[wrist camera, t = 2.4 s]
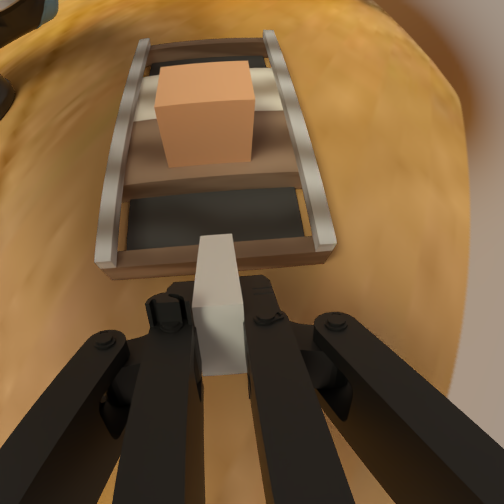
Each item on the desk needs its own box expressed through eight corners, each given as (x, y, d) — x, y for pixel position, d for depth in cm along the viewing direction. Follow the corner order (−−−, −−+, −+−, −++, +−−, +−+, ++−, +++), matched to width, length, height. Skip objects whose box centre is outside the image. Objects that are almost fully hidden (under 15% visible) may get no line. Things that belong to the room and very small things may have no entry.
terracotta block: (171, 125, 33) (160, 67, 25) (244, 120, 33) (247, 60, 26) (168, 167, 30) (154, 107, 23) (250, 161, 31) (255, 99, 24)
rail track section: (144, 62, 43) (139, 39, 38) (270, 53, 44) (273, 30, 40) (112, 280, 29) (94, 262, 25) (323, 263, 30) (337, 243, 26)
